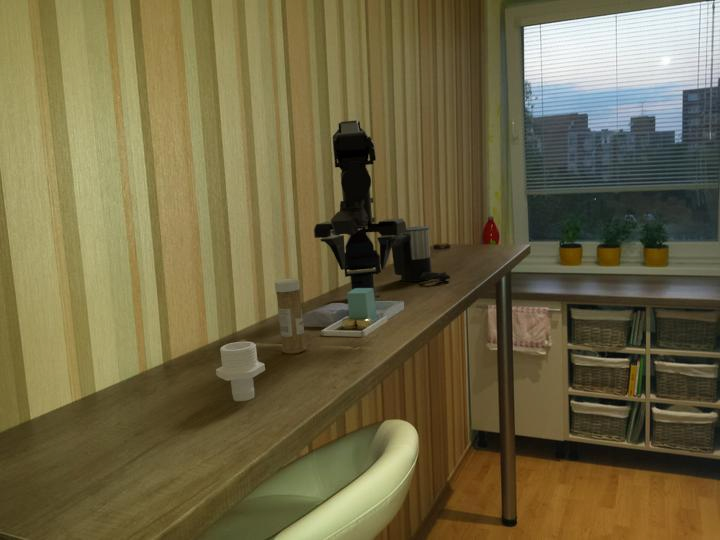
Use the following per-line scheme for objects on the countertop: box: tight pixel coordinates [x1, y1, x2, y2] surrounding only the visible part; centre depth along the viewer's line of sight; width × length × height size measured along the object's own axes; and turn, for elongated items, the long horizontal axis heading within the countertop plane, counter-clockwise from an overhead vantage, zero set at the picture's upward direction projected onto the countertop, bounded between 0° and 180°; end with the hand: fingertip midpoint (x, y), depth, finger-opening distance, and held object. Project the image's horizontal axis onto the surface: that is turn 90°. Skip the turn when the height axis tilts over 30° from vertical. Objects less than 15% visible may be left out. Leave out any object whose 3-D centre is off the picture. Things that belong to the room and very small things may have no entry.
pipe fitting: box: [215, 341, 266, 402], centre depth 97 cm, size 6×7×8 cm
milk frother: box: [391, 225, 451, 282], centre depth 182 cm, size 14×16×15 cm
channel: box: [375, 300, 405, 322], centre depth 144 cm, size 12×8×2 cm
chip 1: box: [342, 318, 357, 330], centre depth 134 cm, size 3×3×2 cm
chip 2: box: [356, 318, 372, 330], centre depth 133 cm, size 3×3×2 cm
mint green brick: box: [346, 288, 377, 325], centre depth 136 cm, size 4×4×7 cm
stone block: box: [302, 302, 349, 328], centre depth 142 cm, size 12×5×10 cm
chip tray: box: [320, 316, 388, 338], centre depth 133 cm, size 12×9×1 cm
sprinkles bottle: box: [274, 277, 307, 355], centre depth 120 cm, size 5×5×14 cm
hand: (362, 269), depth 136 cm, fingers open, 9 cm apart
